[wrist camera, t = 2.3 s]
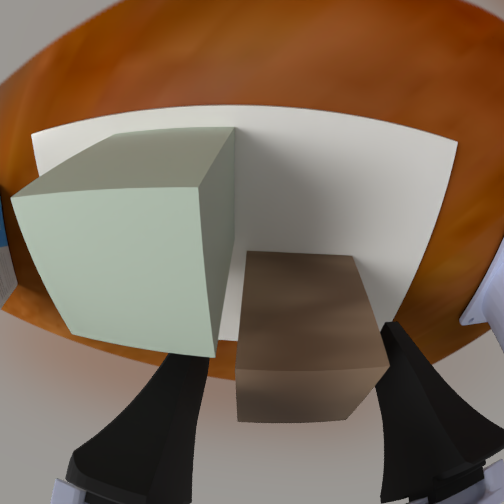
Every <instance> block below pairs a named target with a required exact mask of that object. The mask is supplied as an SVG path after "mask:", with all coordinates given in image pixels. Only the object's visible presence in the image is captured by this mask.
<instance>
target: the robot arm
mask: <svg viewBox="0 0 504 504" xmlns="http://www.w3.org/2000/svg"><path fill="white" fill-rule="evenodd" d="M459 322H460V323H461V325H470V324H477V323H483V322H488V323H489V325H490V327H491V329H492V331H493V332H494V335H495V336H496V338H497V340H498V342H499V344H500V346H501V348H502V350H503V352H504V238H503V240H502V242H501V245H500V247H499V249H498V251H497V253H496V255H495V257H494V259H493V261H492V263H491V265H490V267H489V269H488V271H487V273H486V275H485V277H484V279H483V281H482V282H481V284H480V286H479V288H478V290H477V291H476V293H475V295H474V296H473V298H472V300H471V301H470V303H469V305H468V306H467V308H466V309H465V311H464V313H463V314H462V316H461V317H460V319H459ZM380 334H381V337H382V340H383V344H384V347H385V350H386V354H387V357H388V361H389V364H390V367H389V368H388V369H387V371H386V372H385V373H384V375H383V376H382V377H381V379H380V380H379V381H378V382H377V384H376V385H375V388H376V392H377V396H378V401H379V406H380V410H381V415H382V420H383V432H384V473H383V482H382V489H381V495H380V498H381V503H386V502H392V501H396V500H401V499H404V498H407V497H409V503H406V504H501V503H502V502H503V501H504V463H503V459H501V460H498V461H497V462H495V463H493V464H491V465H490V466H488V467H486V468H484V469H483V467H482V466H484V465H485V464H486V461H485V460H486V459H487V458H489V457H491V456H493V455H494V454H496V453H498V452H499V451H501V450H502V449H504V429H503V428H501V427H499V426H498V425H496V424H494V423H493V422H491V421H489V420H488V419H487V418H485V417H484V416H483V415H481V414H480V413H478V412H477V411H476V410H475V409H473V408H472V407H471V406H470V405H469V404H468V403H467V402H465V401H464V400H463V399H462V398H461V397H460V396H459V395H458V394H457V393H456V392H455V391H454V390H453V389H452V388H451V387H450V386H449V385H448V384H447V383H446V382H445V381H444V379H443V378H442V377H441V376H440V375H439V373H438V372H437V371H436V370H435V369H434V367H433V366H432V365H431V364H430V363H429V361H428V360H427V359H426V357H425V356H424V355H423V354H422V352H421V351H420V350H419V348H418V347H417V346H416V345H415V343H414V342H413V341H412V339H411V338H410V337H409V335H408V334H407V333H406V332H405V330H404V329H403V328H402V326H401V325H400V324H399V323H398V322H397V321H396V322H385V323H384V325H383V327H382V329H381V331H380ZM209 358H210V357H202V356H192V355H183V354H175V353H168V355H167V356H166V358H165V360H164V361H163V363H162V364H161V365H160V367H159V368H158V370H157V371H156V372H155V374H154V375H153V376H152V378H151V379H150V380H149V382H148V383H147V384H146V386H145V387H144V388H143V389H142V390H141V392H140V393H139V394H138V395H137V396H136V397H135V399H134V400H133V401H132V402H131V403H130V404H129V405H128V406H127V407H126V408H125V409H124V410H123V411H122V412H121V413H120V414H119V415H118V416H117V417H116V418H115V419H114V420H113V421H112V422H111V423H109V424H108V425H107V426H106V427H105V428H104V429H103V430H101V431H100V432H99V433H98V434H97V435H95V436H94V437H93V438H91V439H90V440H89V441H87V442H86V443H84V444H83V445H82V446H80V447H79V448H77V449H76V450H75V451H74V452H73V454H72V457H71V459H70V462H69V465H68V469H67V474H66V480H67V481H68V482H69V483H68V482H66V481H63V480H60V479H58V478H57V479H56V480H55V484H54V488H53V493H52V499H51V504H190V503H191V502H192V472H193V457H194V445H195V434H196V426H197V420H198V415H199V410H200V406H201V401H202V397H203V392H204V388H205V383H206V379H207V374H208V367H209ZM70 483H71V484H70Z"/></svg>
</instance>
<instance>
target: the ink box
mask: <svg viewBox="0 0 504 504" xmlns="http://www.w3.org/2000/svg"><path fill="white" fill-rule="evenodd" d="M17 285H18V282H17V279H16V275H15V272H14V268H13V264H12V260H11V256H10V251H9V247H8V242H7V237H6V232H5V226H4V220H3V214H2V206H1V198H0V309H1V308H2V306H3V305H4V303H5V302H6V300H7V299H8V298H9V296H10V295H11V293H12V292H13V291H14V289H15V288H16V287H17Z"/></svg>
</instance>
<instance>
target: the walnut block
mask: <svg viewBox="0 0 504 504" xmlns="http://www.w3.org/2000/svg"><path fill="white" fill-rule="evenodd" d="M389 367H390V364H389V361H388V357H387V354H386V350H385V347H384V344H383V340H382V337H381V334H380V331H379V328H378V325H377V322H376V319H375V316H374V313H373V310H372V307H371V304H370V301H369V299H368V296H367V293H366V290H365V288H364V285H363V282H362V279H361V277H360V274H359V272H358V269H357V266H356V264H355V261H354V259H353V256H349V255H328V254H307V253H287V252H266V251H247V253H246V263H245V273H244V283H243V293H242V303H241V313H240V324H239V334H238V344H237V355H236V365H235V377H236V399H237V418H238V422H254V423H306V422H307V423H309V422H326V421H339V420H346V419H347V418H348V417H349V416H350V415H351V414H352V413H353V411H354V410H355V409H356V408H357V407H358V406H359V404H360V403H361V402H362V401H363V400H364V399H365V397H366V396H367V395H368V394H369V392H370V391H371V390H372V389H373V388H374V386H375V385H376V384H377V382H378V381H379V380H380V379H381V377H382V376H383V375H384V373H385V372H386V371H387V369H388V368H389Z"/></svg>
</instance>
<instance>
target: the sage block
mask: <svg viewBox="0 0 504 504" xmlns="http://www.w3.org/2000/svg"><path fill="white" fill-rule="evenodd" d="M234 146H235V127H189V128H170V129H156V130H145V131H135V132H126V133H118V134H114V135H112V136H110V137H108V138H106V139H104V140H102V141H100V142H98V143H96V144H94V145H92V146H90V147H88V148H87V149H85V150H83V151H81V152H79V153H78V154H76V155H74V156H72V157H71V158H69V159H67V160H66V161H64V162H62V163H61V164H59V165H57V166H56V167H54V168H52V169H51V170H49V171H48V172H46V173H45V174H43V175H42V176H40V177H39V178H37V179H36V180H34V181H33V182H31V183H30V184H29V185H27V186H26V187H24V188H23V189H22V190H20V191H19V192H17V193H16V194H15V195H13V196H12V197H11V198H10V199H11V202H12V205H13V209H14V212H15V215H16V218H17V221H18V223H19V226H20V229H21V232H22V234H23V237H24V240H25V242H26V245H27V247H28V250H29V252H30V254H31V257H32V259H33V261H34V264H35V266H36V268H37V270H38V272H39V275H40V277H41V279H42V281H43V283H44V285H45V287H46V289H47V291H48V293H49V295H50V297H51V298H52V300H53V302H54V304H55V306H56V308H57V309H58V311H59V313H60V315H61V316H62V318H63V320H64V322H65V323H66V325H67V327H68V328H69V330H70V332H71V333H72V334H74V335H78V336H82V337H86V338H90V339H95V340H99V341H104V342H109V343H114V344H119V345H124V346H130V347H136V348H141V349H148V350H154V351H161V352H168V353H175V354H183V355H192V356H202V357H212V358H215V356H216V349H217V343H218V337H219V330H220V324H221V318H222V311H223V305H224V299H225V293H226V287H227V281H228V275H229V269H230V263H231V257H232V251H233V246H234V240H235V237H234Z"/></svg>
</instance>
